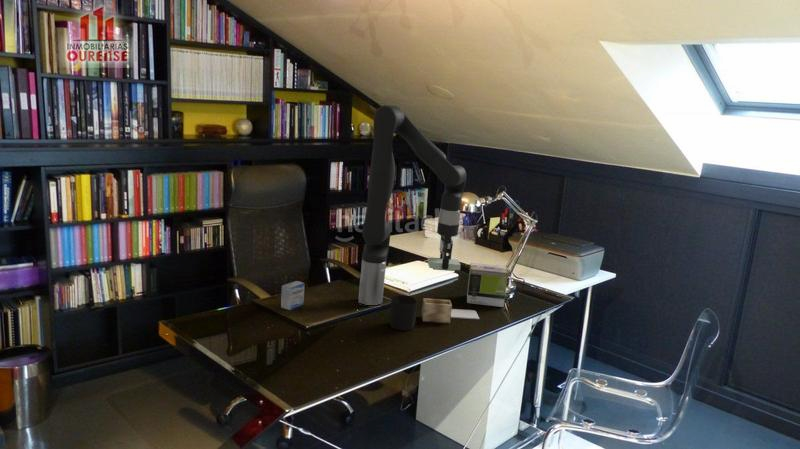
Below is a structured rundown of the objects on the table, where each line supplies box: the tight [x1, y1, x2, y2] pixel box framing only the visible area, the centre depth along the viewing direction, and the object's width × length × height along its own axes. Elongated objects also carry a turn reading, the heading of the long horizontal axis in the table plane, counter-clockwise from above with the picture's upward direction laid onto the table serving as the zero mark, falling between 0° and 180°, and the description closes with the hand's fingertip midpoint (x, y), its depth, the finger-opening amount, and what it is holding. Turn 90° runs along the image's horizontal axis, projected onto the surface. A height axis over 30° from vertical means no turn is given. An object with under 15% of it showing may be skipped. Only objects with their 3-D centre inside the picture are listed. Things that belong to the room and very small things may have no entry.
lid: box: [427, 256, 462, 272], centre depth 218 cm, size 11×6×3 cm, turn 94°
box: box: [421, 298, 453, 324], centre depth 222 cm, size 10×5×7 cm, turn 94°
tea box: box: [466, 262, 509, 308], centre depth 245 cm, size 15×10×15 cm
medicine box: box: [280, 280, 306, 311], centre depth 221 cm, size 8×4×9 cm, turn 150°
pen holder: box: [389, 294, 419, 332], centre depth 213 cm, size 9×9×10 cm
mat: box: [451, 308, 480, 320], centre depth 230 cm, size 12×8×1 cm, turn 94°
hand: (443, 266), depth 218 cm, fingers closed on lid, 6 cm apart
